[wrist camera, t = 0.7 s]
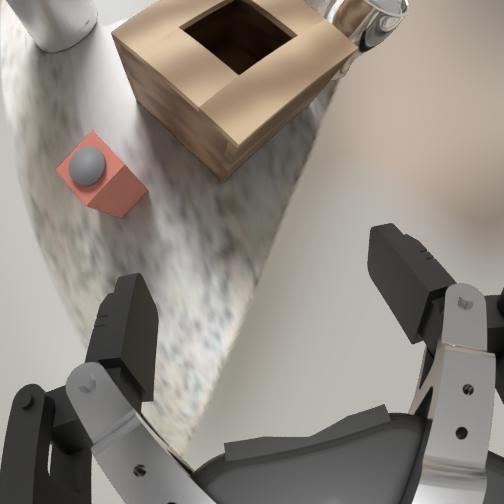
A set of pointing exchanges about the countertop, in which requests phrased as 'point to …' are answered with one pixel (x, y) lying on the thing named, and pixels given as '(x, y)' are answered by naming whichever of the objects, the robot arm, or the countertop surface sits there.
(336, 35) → the slot box
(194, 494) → the robot arm
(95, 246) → the countertop surface
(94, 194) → the spice tin
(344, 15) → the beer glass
